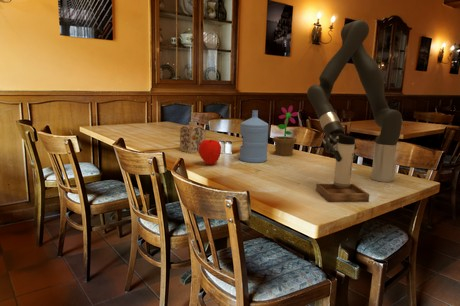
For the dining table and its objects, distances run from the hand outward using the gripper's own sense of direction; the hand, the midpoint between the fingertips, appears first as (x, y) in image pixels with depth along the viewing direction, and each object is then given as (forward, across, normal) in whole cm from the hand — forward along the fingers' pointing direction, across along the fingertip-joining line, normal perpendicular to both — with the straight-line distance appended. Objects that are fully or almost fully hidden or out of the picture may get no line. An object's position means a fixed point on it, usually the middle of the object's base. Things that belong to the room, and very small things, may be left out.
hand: (347, 160), depth 138 cm
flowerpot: (-45, +18, +67) cm, 83 cm away
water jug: (-38, -7, +60) cm, 72 cm away
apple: (-35, -34, +58) cm, 76 cm away
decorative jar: (-60, -34, +83) cm, 108 cm away
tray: (+10, 0, +12) cm, 15 cm away
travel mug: (+6, 0, +9) cm, 11 cm away
